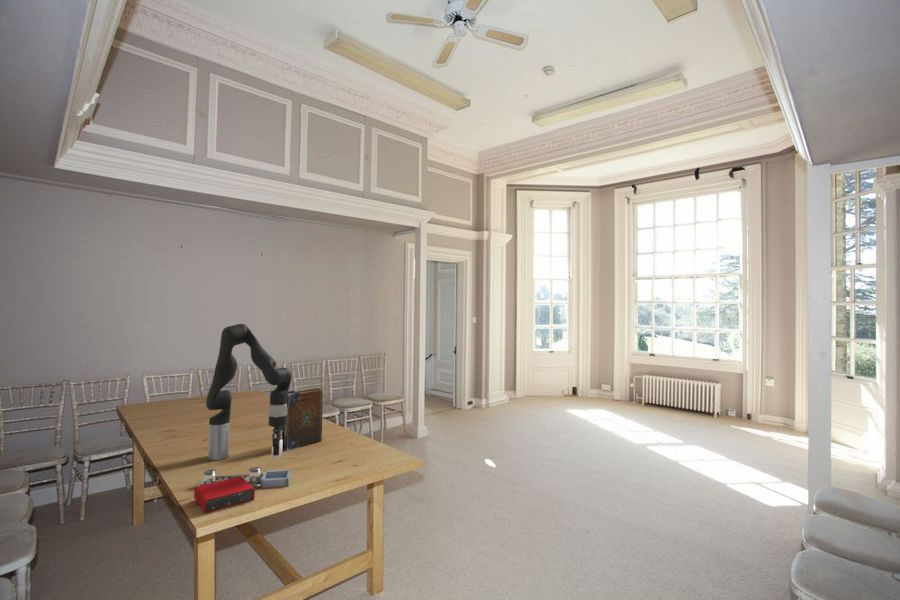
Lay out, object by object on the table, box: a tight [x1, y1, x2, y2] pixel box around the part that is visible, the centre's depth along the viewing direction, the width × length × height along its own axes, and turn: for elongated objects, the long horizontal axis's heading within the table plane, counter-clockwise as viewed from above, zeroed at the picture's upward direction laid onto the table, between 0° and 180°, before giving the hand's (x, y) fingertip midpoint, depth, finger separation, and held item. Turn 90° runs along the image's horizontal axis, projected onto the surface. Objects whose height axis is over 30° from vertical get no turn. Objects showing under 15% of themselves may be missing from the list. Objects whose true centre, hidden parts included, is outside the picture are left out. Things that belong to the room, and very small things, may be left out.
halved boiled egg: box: [270, 439, 283, 459], centre depth 195 cm, size 4×4×7 cm
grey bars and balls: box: [196, 466, 264, 489], centre depth 191 cm, size 19×26×6 cm
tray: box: [260, 469, 292, 489], centre depth 195 cm, size 11×11×3 cm
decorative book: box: [282, 387, 324, 452], centre depth 249 cm, size 23×7×30 cm, turn 143°
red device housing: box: [193, 476, 256, 514], centre depth 176 cm, size 18×14×5 cm
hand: (276, 453), depth 195 cm, fingers closed on halved boiled egg, 4 cm apart
